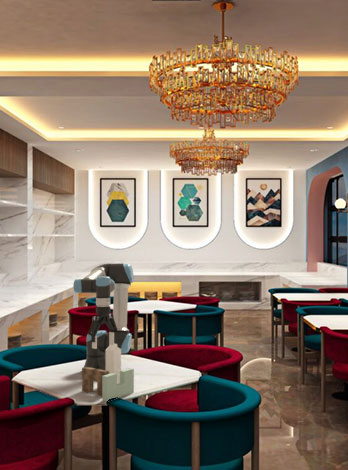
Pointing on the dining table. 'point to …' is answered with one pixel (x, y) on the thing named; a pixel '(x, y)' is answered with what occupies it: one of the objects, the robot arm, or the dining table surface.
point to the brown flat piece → (92, 379)
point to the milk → (113, 360)
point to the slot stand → (117, 390)
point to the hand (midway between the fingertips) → (103, 346)
